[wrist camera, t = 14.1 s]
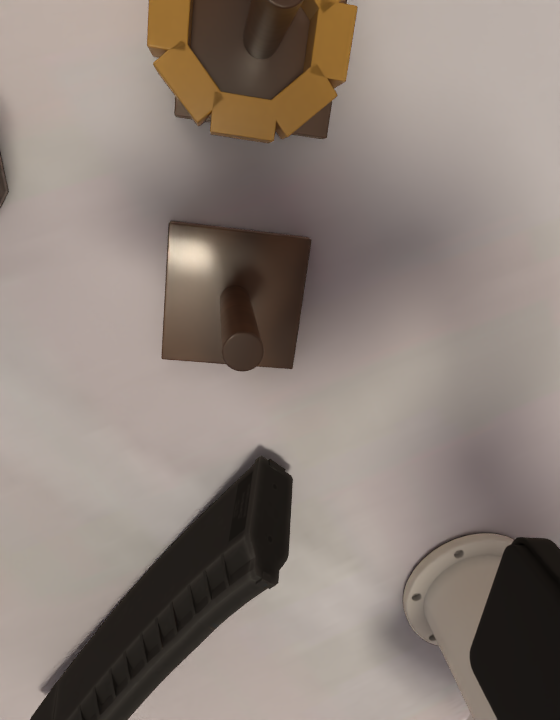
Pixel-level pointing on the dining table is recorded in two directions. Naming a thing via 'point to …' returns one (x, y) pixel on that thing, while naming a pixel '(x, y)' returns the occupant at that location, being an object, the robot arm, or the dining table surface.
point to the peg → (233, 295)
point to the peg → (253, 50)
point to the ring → (244, 112)
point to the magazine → (181, 599)
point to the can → (2, 183)
